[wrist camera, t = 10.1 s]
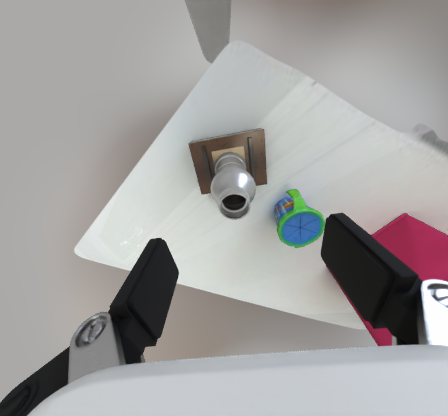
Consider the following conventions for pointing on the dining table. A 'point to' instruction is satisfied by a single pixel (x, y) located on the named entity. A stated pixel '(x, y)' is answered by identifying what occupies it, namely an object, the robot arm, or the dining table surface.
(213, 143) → the brown wooden base
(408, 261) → the storage bin
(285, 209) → the snack cup
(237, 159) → the silver metal bottle
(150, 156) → the dining table surface
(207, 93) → the dining table surface
